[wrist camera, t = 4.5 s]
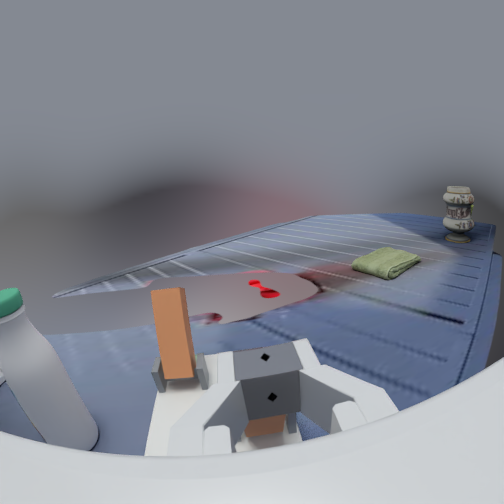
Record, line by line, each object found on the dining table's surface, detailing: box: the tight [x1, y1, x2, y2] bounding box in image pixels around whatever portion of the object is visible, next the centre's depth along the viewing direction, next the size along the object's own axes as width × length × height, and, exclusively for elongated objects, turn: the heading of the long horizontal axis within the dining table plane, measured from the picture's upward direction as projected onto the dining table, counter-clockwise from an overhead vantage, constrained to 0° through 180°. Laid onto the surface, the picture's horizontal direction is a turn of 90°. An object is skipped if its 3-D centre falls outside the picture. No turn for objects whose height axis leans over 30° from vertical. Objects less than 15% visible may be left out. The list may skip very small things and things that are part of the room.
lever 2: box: [244, 414, 286, 437], centre depth 22 cm, size 4×4×12 cm
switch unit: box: [144, 353, 302, 456], centre depth 32 cm, size 16×18×6 cm
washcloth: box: [351, 247, 421, 280], centre depth 69 cm, size 13×18×3 cm
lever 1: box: [151, 287, 199, 381], centre depth 35 cm, size 4×4×12 cm
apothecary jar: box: [443, 186, 474, 243], centre depth 79 cm, size 12×12×18 cm
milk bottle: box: [0, 288, 98, 451], centre depth 23 cm, size 8×8×20 cm
